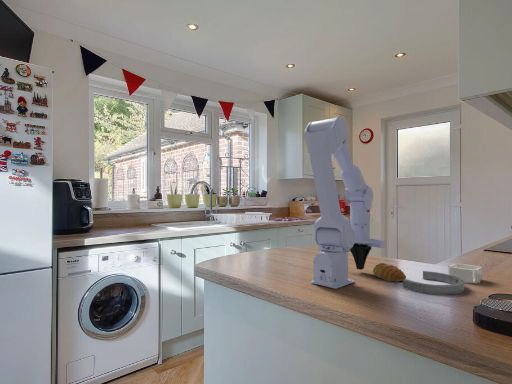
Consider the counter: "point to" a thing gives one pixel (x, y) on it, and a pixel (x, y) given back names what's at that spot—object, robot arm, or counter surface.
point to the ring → (454, 288)
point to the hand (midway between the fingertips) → (360, 268)
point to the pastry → (388, 272)
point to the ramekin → (466, 272)
